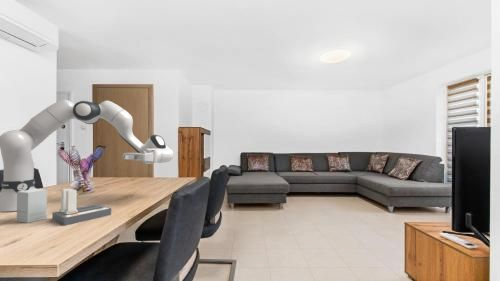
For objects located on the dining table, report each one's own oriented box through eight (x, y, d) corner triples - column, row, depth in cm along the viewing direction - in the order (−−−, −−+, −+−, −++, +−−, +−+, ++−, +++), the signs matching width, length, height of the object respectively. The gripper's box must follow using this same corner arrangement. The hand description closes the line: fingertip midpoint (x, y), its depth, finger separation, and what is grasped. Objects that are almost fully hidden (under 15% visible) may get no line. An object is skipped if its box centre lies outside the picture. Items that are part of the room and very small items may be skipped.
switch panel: (52, 219, 103) (52, 211, 103) (97, 210, 118) (97, 203, 118) (64, 225, 96) (64, 217, 96) (110, 214, 111) (111, 207, 111)
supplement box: (47, 218, 105) (47, 189, 106) (26, 223, 98) (27, 192, 99) (36, 216, 108) (36, 188, 108) (15, 221, 101) (16, 191, 101)
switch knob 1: (59, 211, 104) (60, 189, 104) (70, 209, 107) (70, 188, 107) (61, 212, 103) (62, 190, 103) (72, 210, 106) (73, 188, 106)
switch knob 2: (64, 213, 101) (64, 191, 101) (75, 211, 105) (75, 189, 105) (66, 214, 100) (67, 191, 100) (77, 212, 103) (78, 190, 103)
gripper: (137, 150, 143) (113, 150, 132) (158, 151, 132) (134, 151, 121) (137, 160, 143) (113, 162, 132) (158, 162, 132) (134, 164, 120)
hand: (123, 157), depth 126 cm, fingers closed
